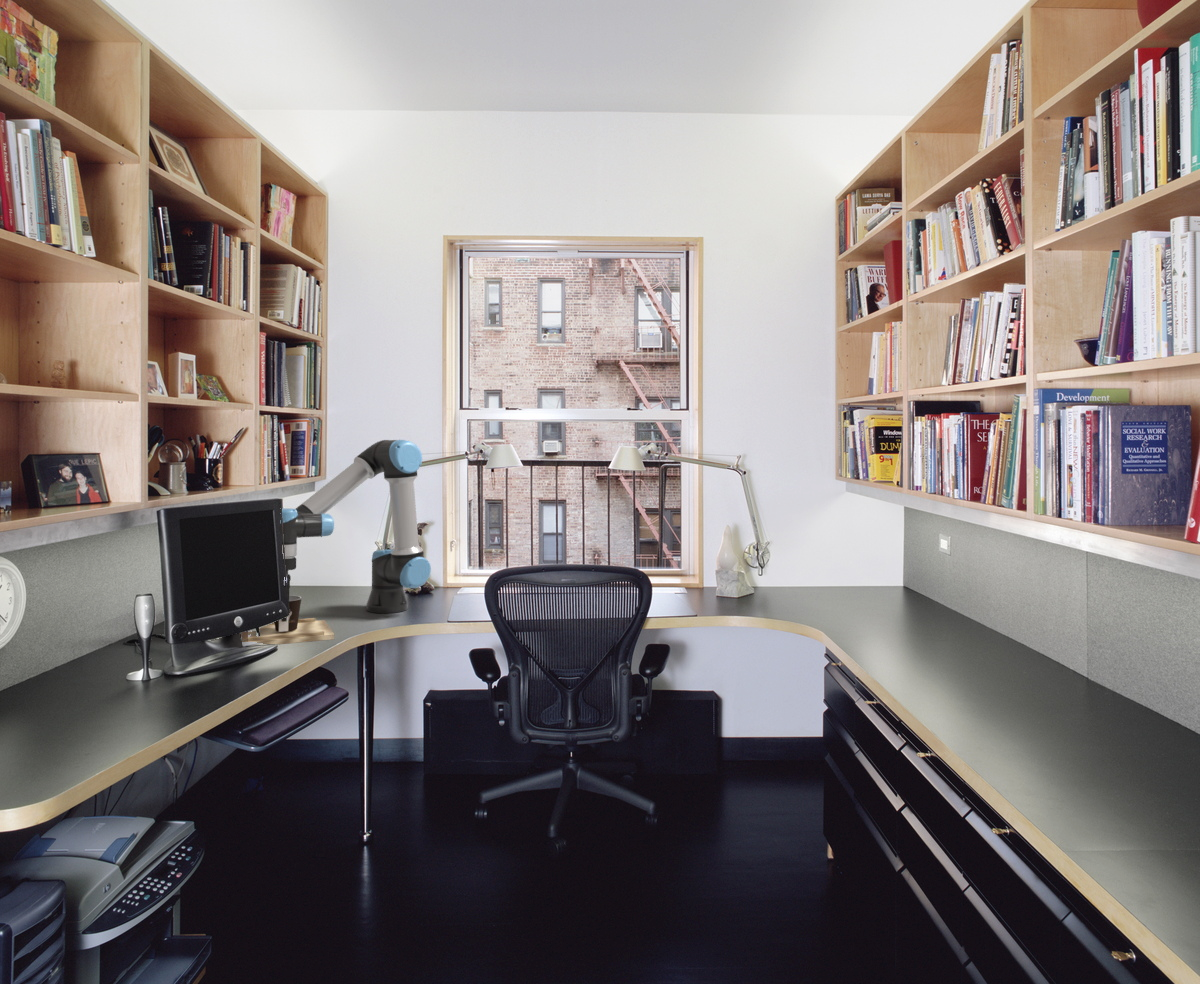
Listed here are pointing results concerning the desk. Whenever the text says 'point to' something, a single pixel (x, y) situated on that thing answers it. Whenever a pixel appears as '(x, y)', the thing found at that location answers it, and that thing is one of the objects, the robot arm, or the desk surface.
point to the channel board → (291, 633)
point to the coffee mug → (292, 613)
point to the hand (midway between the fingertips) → (282, 628)
